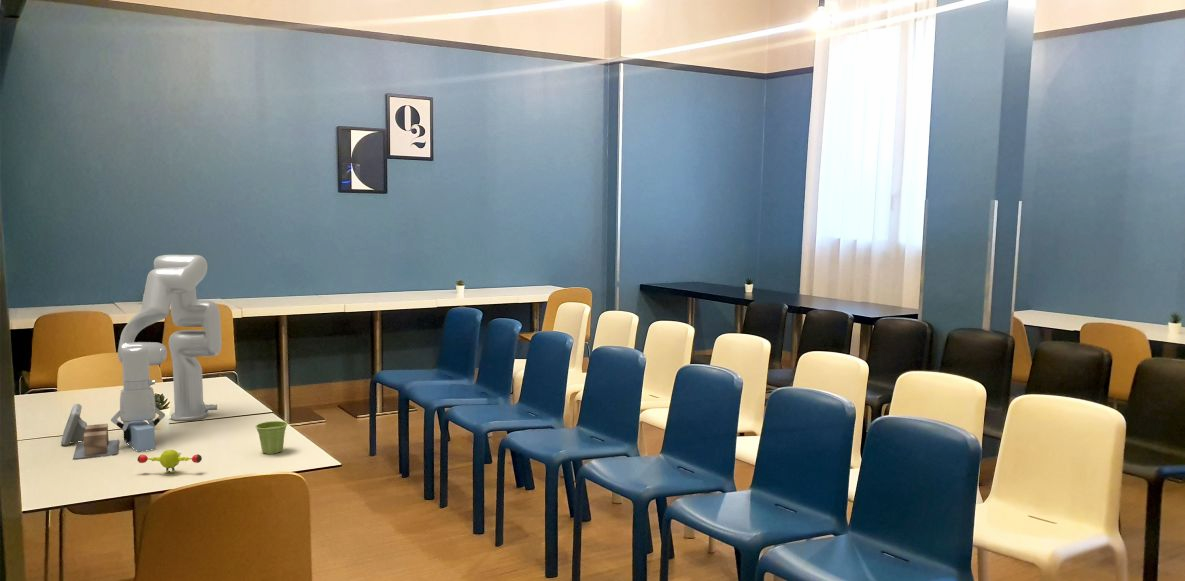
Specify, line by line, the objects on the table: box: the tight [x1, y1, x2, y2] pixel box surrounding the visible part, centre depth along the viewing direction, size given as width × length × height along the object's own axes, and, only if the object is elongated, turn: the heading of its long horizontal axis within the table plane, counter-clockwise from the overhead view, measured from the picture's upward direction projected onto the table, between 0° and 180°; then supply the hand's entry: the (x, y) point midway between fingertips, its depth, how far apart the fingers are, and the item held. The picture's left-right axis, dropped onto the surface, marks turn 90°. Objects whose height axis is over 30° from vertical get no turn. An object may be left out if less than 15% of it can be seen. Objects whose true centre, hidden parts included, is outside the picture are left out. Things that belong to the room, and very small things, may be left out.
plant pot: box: [255, 420, 288, 455], centre depth 277 cm, size 9×9×9 cm
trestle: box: [72, 423, 120, 460], centre depth 278 cm, size 12×18×6 cm, turn 27°
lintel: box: [122, 420, 156, 453], centre depth 283 cm, size 5×16×7 cm, turn 42°
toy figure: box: [137, 449, 203, 474], centre depth 255 cm, size 18×6×7 cm, turn 92°
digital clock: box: [60, 403, 88, 446], centre depth 289 cm, size 16×9×11 cm, turn 16°
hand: (139, 440), depth 283 cm, fingers closed on lintel, 6 cm apart
